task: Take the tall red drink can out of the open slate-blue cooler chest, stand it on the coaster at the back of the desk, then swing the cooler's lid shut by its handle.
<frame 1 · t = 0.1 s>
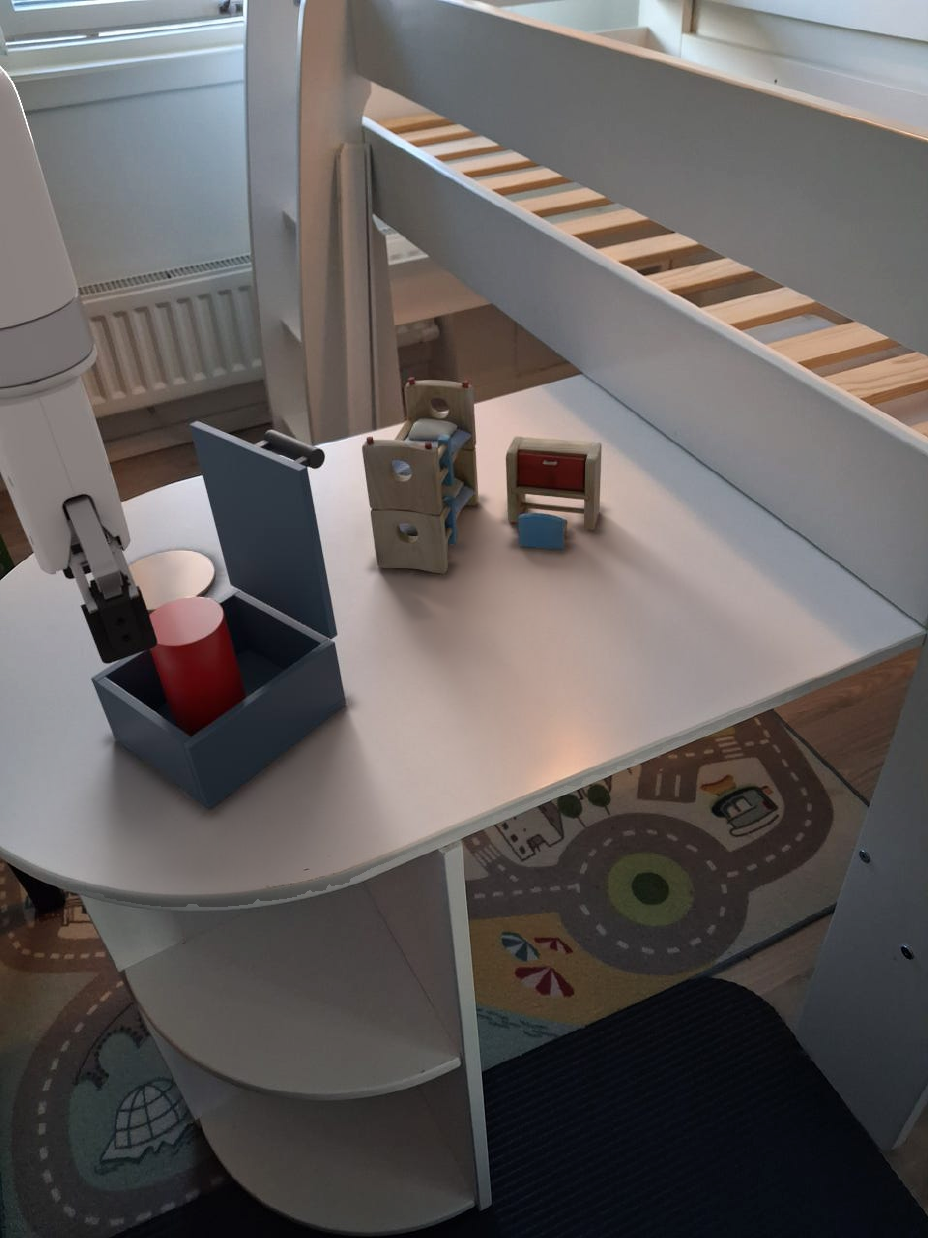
hand: (109, 609, 60), 21 cm above the table, tool pointing down, fingers open, 9 cm apart
cooler lid: (286, 518, 79), point 15 cm above the table, hinge at 90.0°
coaster: (165, 582, 99), on the table
dollhouse furniture set: (491, 539, 102), on the table
can: (215, 724, 81), point 1 cm above the table, touching cooler
cooler: (231, 721, 83), on the table
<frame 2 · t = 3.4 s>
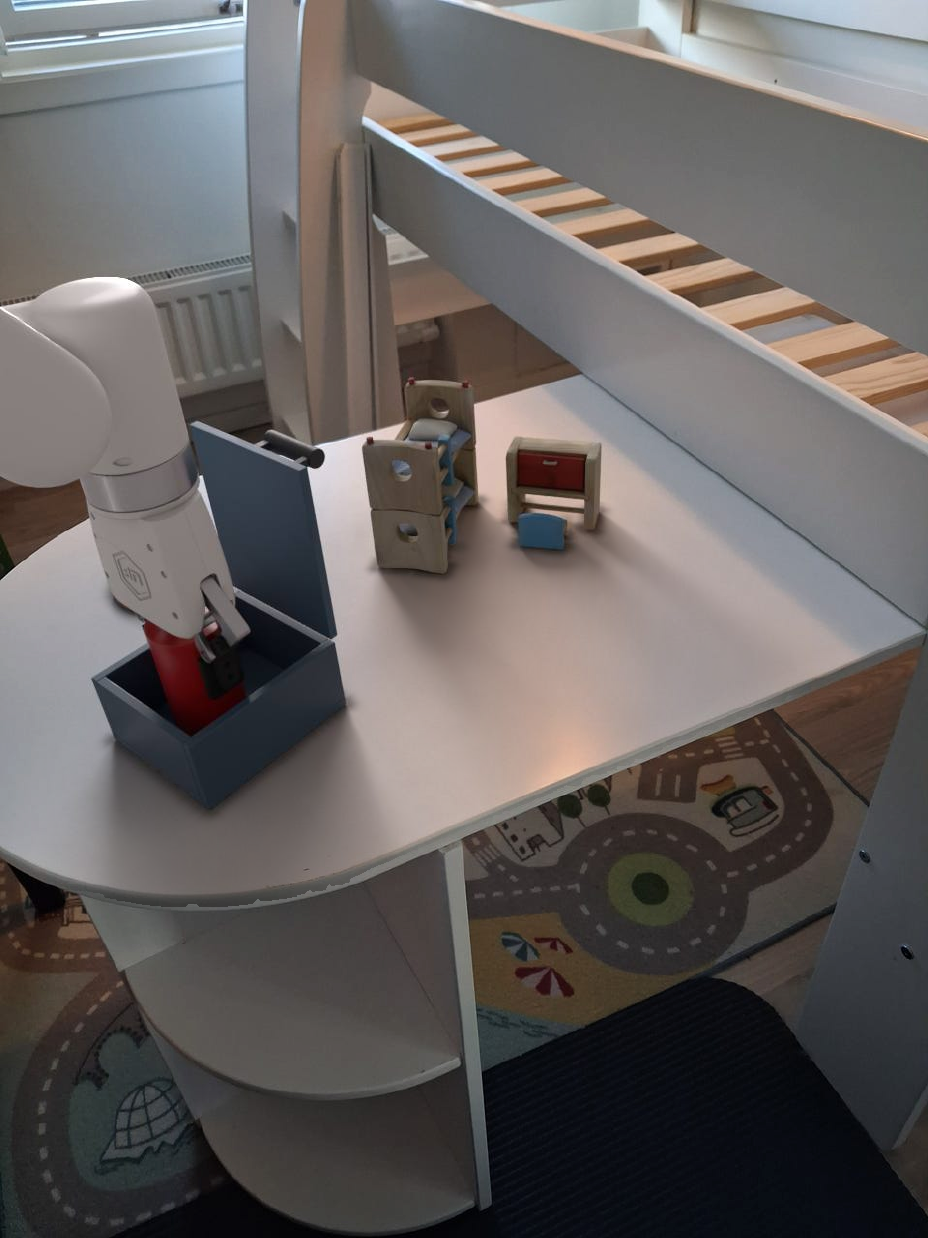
hand: (199, 670, 78), 7 cm above the table, tool pointing down, fingers closed on can, 6 cm apart
can: (215, 724, 81), point 1 cm above the table, touching cooler, gripper
everything else where it was.
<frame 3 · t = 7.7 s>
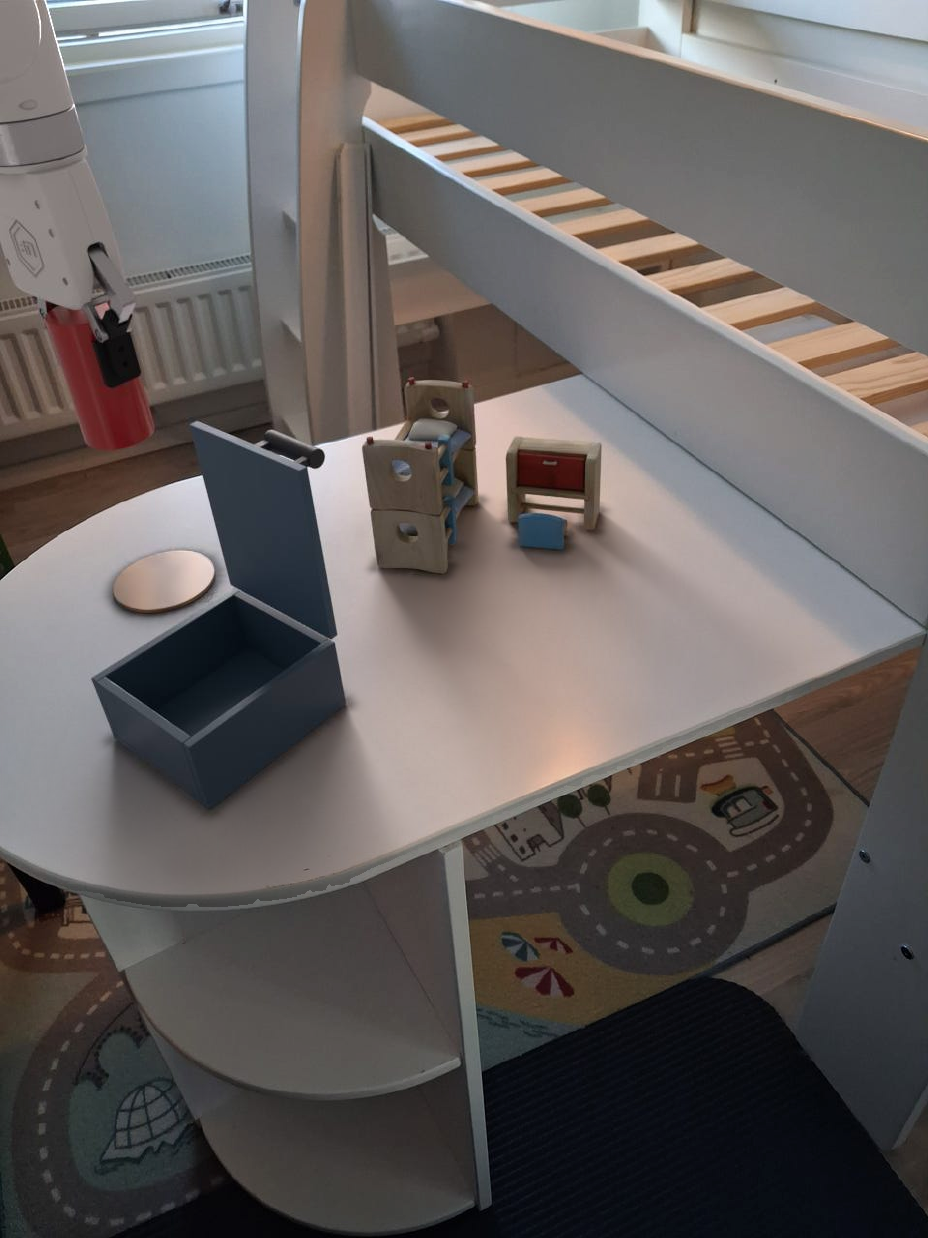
hand: (100, 369, 83), 23 cm above the table, tool pointing down, fingers closed on can, 6 cm apart
can: (120, 433, 87), point 18 cm above the table, touching gripper
everything else where it was.
when the fingers open (6 cm above the table, at t = 12.0 s): can stays where it is, resting on coaster.
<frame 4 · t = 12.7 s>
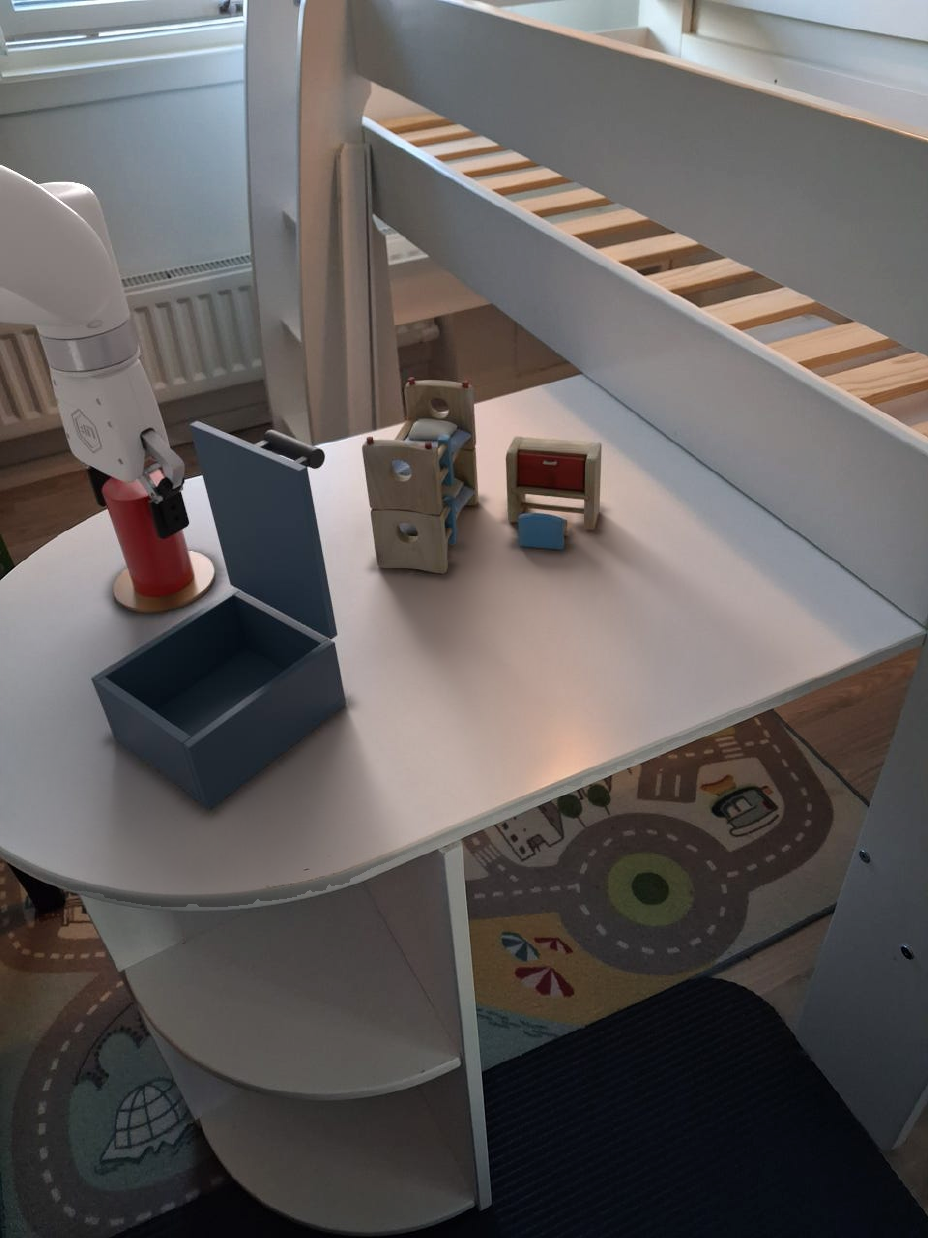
hand: (143, 515, 94), 8 cm above the table, tool pointing down, fingers open, 9 cm apart
can: (164, 578, 99), resting on coaster
everything else where it was.
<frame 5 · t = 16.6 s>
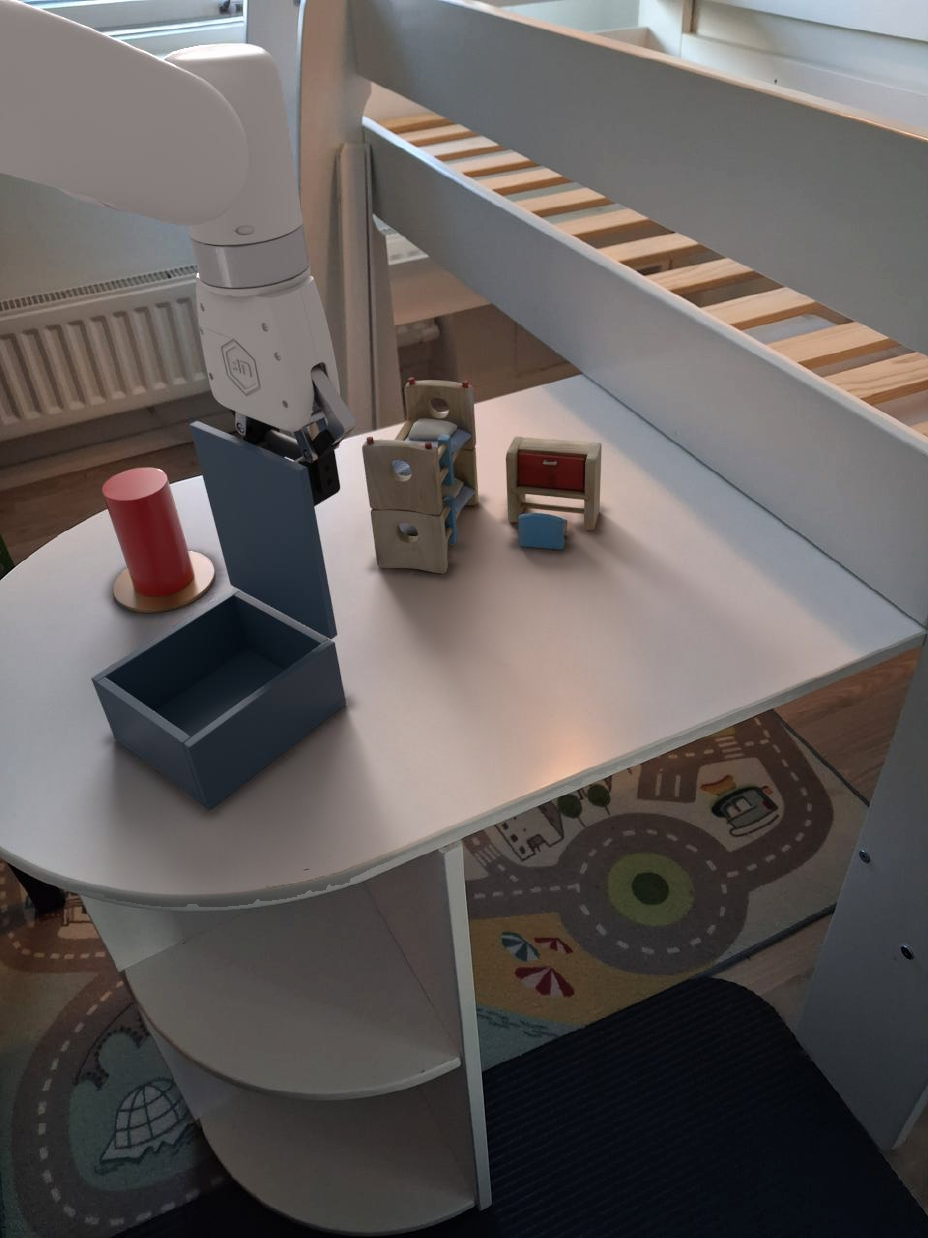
hand: (295, 484, 78), 17 cm above the table, tool pointing down, fingers closed on cooler lid, 5 cm apart
cooler lid: (286, 518, 79), point 15 cm above the table, hinge at 90.0°, touching gripper
everything else where it was.
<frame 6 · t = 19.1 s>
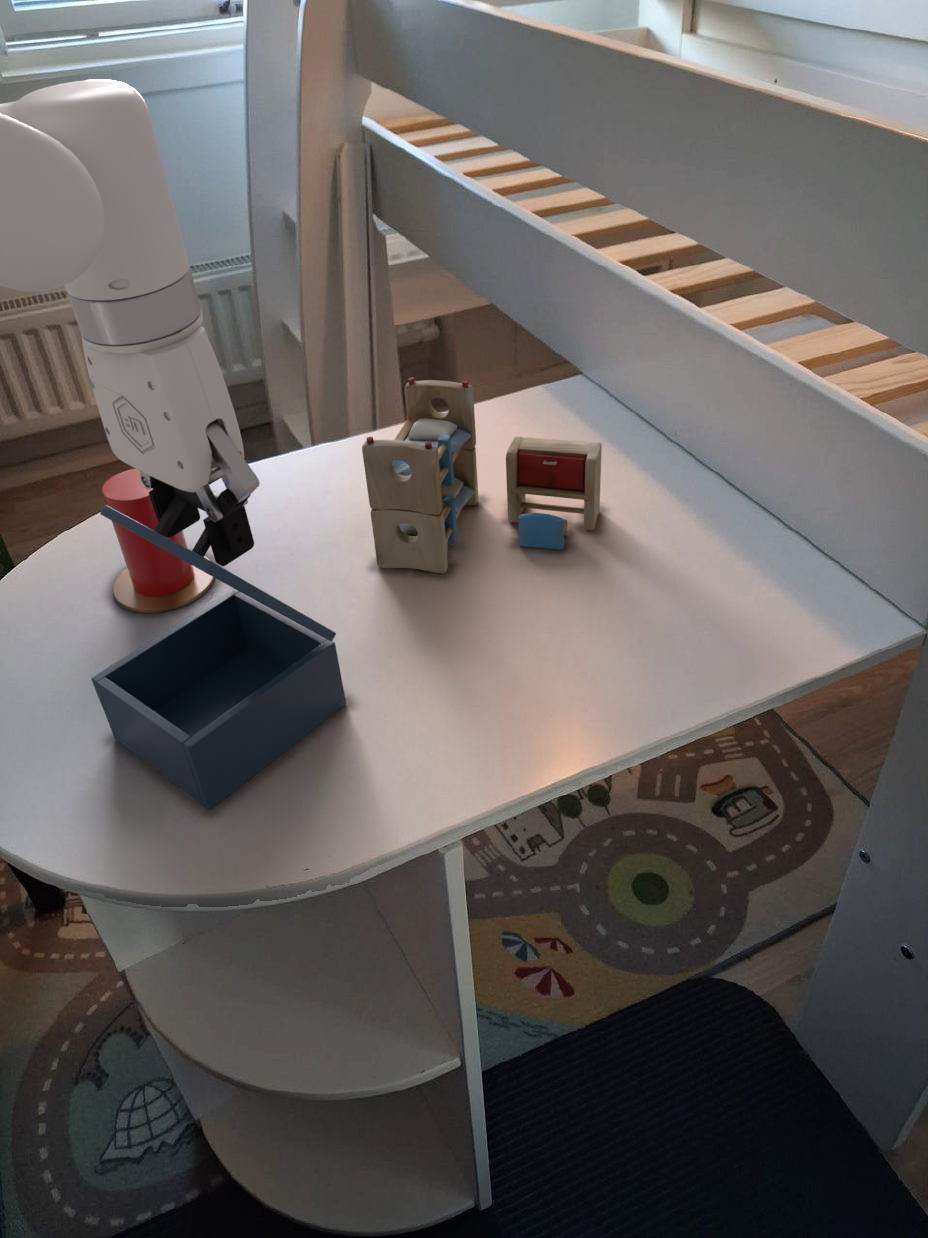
hand: (208, 539, 73), 17 cm above the table, tool pointing down, fingers closed on cooler lid, 5 cm apart
cooler lid: (238, 550, 76), point 15 cm above the table, hinge at 53.2°, touching gripper
everything else where it was.
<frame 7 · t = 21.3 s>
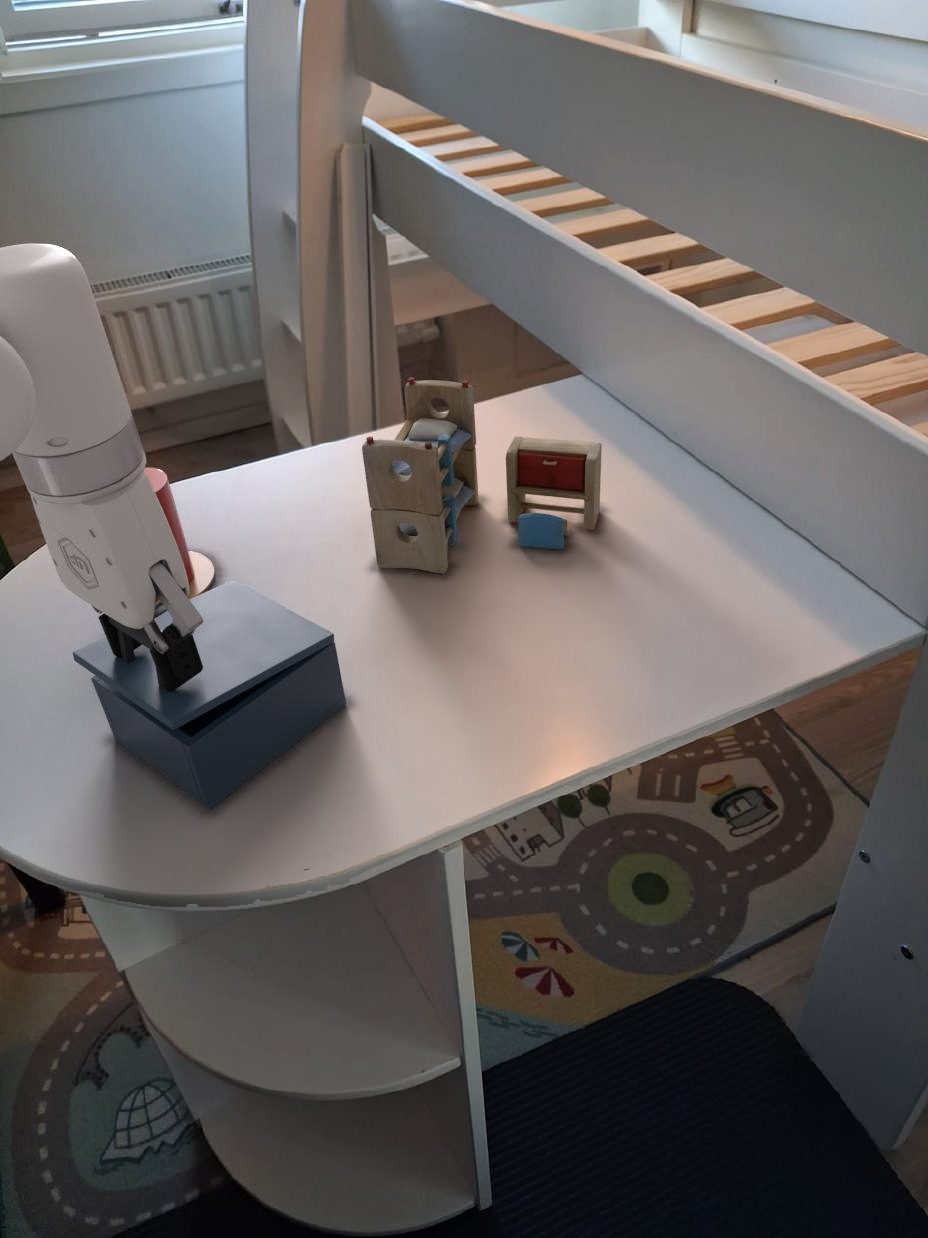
hand: (158, 661, 74), 10 cm above the table, tool pointing down, fingers closed on cooler lid, 5 cm apart
cooler lid: (203, 622, 76), point 11 cm above the table, hinge at 8.3°, touching gripper
everything else where it was.
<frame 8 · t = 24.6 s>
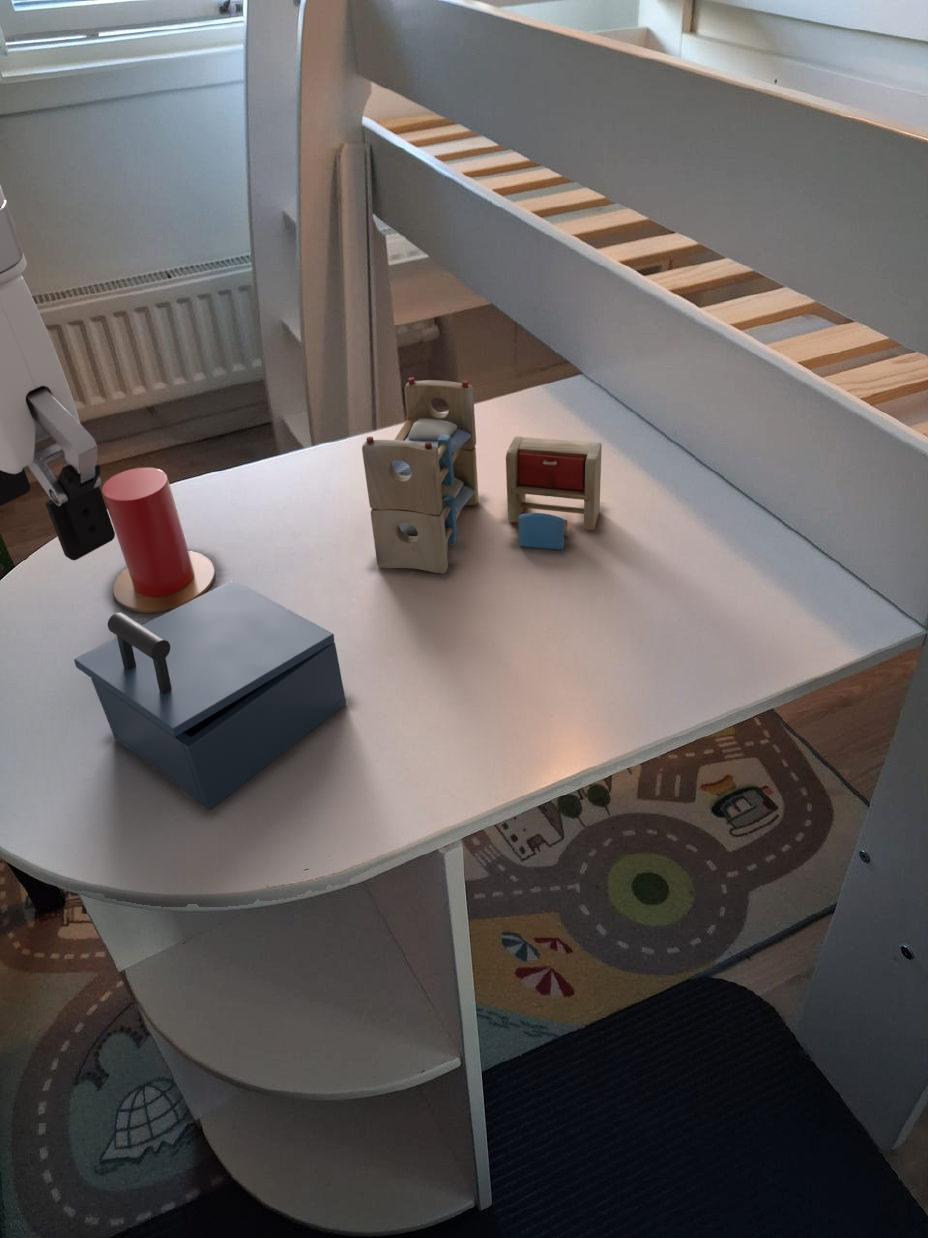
hand: (48, 523, 63), 24 cm above the table, tool pointing down, fingers open, 9 cm apart
cooler lid: (202, 626, 76), point 10 cm above the table, hinge at 6.0°
everything else where it was.
at the end: can 0.0 cm off-centre on the coaster, point 0.4 cm above the coaster's base; can tilted 0°; cooler lid at +6° (first picture: +90°) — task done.
